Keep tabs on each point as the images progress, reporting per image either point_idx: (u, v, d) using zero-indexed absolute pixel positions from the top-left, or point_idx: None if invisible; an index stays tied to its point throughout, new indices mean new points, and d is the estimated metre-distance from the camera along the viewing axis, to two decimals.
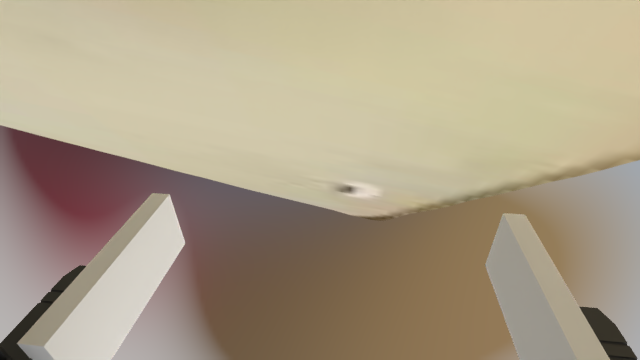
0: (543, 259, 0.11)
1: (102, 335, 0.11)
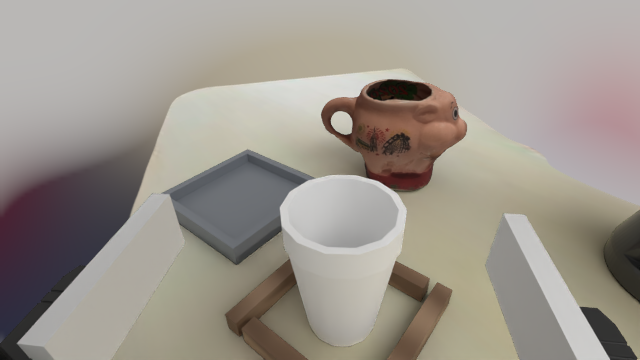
0: (543, 259, 0.11)
1: (102, 335, 0.11)
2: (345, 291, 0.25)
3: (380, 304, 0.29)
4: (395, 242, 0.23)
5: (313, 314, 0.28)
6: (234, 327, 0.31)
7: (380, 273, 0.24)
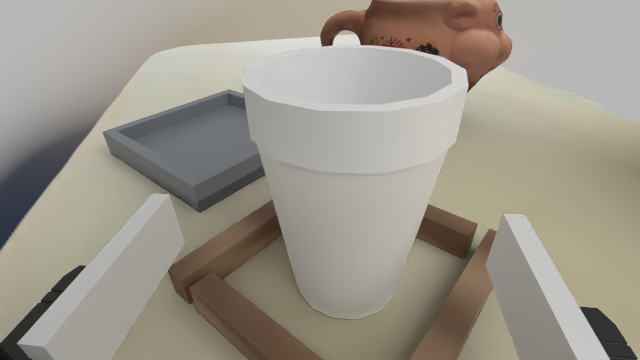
0: (543, 259, 0.11)
1: (102, 335, 0.11)
2: (357, 206, 0.14)
3: (410, 249, 0.18)
4: (453, 107, 0.12)
5: (302, 262, 0.17)
6: (181, 288, 0.20)
7: (421, 172, 0.13)
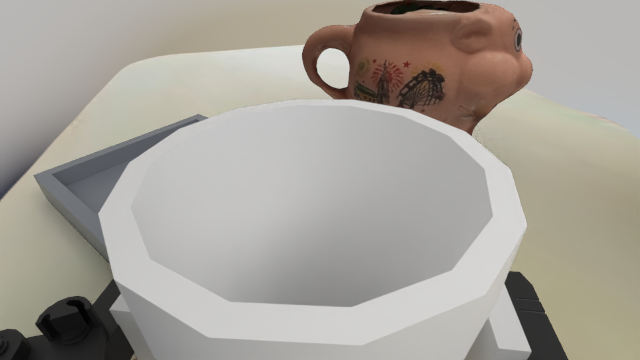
0: None
1: None
2: None
3: None
4: (500, 277, 0.06)
5: None
6: None
7: None
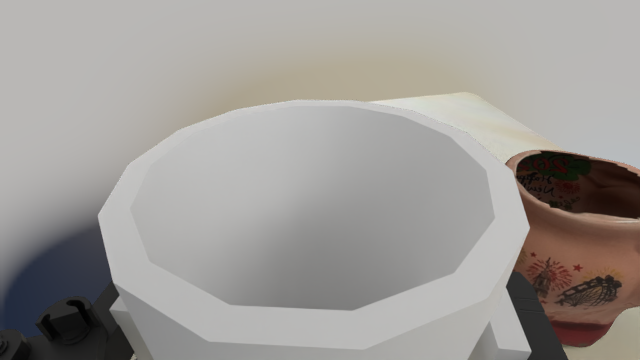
0: None
1: None
2: None
3: None
4: (503, 280, 0.06)
5: None
6: None
7: None
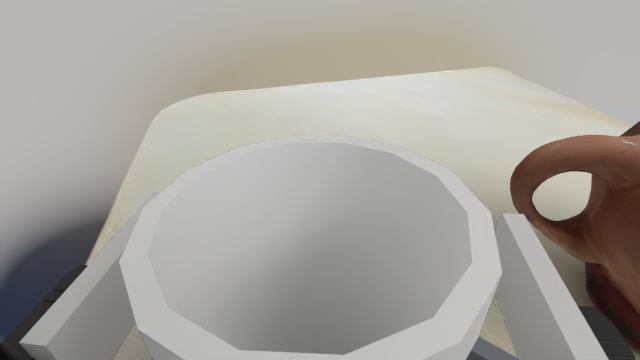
0: (542, 258, 0.11)
1: (104, 334, 0.11)
2: None
3: None
4: (477, 320, 0.07)
5: None
6: None
7: None
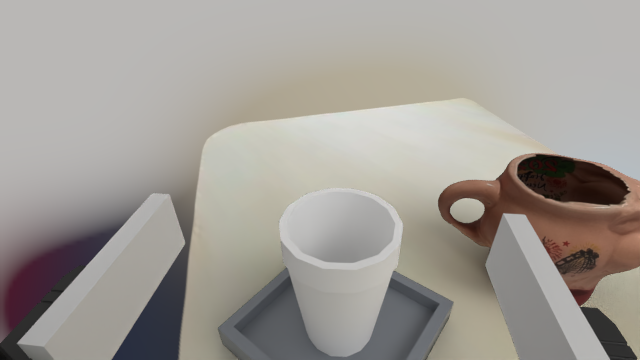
0: (543, 259, 0.11)
1: (102, 335, 0.11)
2: (343, 304, 0.25)
3: (377, 315, 0.30)
4: (392, 256, 0.24)
5: (311, 325, 0.29)
6: None
7: (377, 286, 0.25)
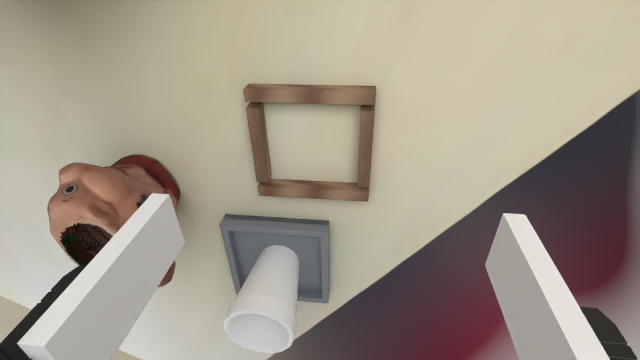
0: (543, 259, 0.11)
1: (102, 335, 0.11)
2: (287, 295, 0.47)
3: (268, 262, 0.50)
4: (256, 307, 0.43)
5: None
6: (368, 190, 0.46)
7: (269, 294, 0.45)
